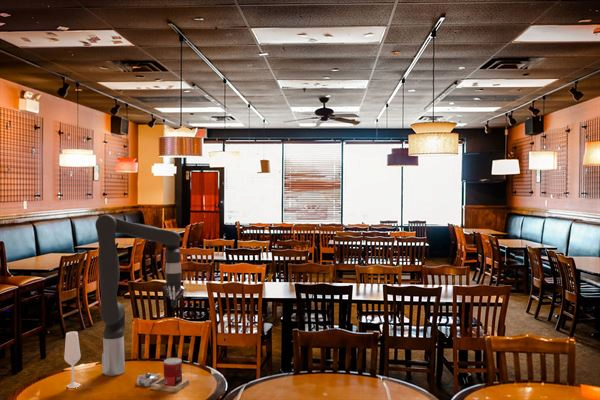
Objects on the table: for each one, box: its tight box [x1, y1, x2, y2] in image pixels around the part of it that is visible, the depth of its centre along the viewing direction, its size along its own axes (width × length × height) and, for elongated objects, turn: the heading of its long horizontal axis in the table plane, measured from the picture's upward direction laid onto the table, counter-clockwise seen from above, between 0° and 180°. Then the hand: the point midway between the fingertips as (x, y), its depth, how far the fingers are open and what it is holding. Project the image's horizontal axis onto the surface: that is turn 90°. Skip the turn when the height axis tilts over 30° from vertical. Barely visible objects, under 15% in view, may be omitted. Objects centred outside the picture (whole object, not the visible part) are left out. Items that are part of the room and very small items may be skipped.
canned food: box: [163, 357, 183, 387], centre depth 239 cm, size 8×8×11 cm
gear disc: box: [136, 372, 160, 388], centre depth 243 cm, size 10×10×4 cm
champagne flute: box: [63, 330, 82, 389], centre depth 238 cm, size 7×7×24 cm
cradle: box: [149, 376, 190, 393], centre depth 238 cm, size 13×10×2 cm
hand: (174, 306), depth 264 cm, fingers closed
